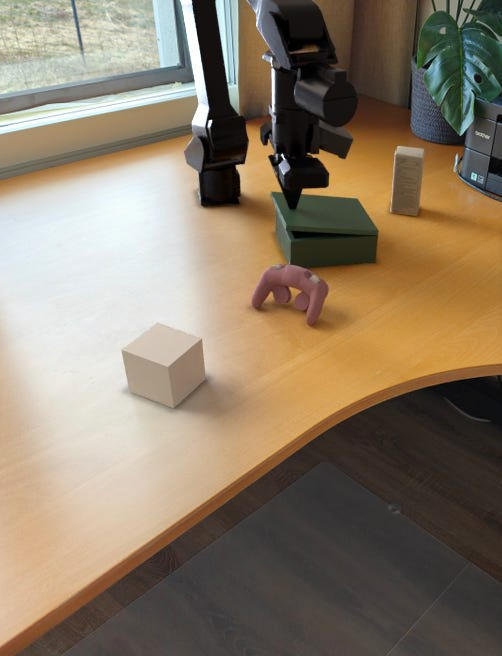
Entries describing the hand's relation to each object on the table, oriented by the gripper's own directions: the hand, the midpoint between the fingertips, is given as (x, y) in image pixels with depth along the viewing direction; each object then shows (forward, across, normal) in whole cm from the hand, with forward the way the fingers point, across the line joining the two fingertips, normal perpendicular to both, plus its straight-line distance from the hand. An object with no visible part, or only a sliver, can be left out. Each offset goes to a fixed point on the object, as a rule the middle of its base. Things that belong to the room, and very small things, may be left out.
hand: (292, 208), depth 100 cm
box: (+7, +12, -23) cm, 27 cm away
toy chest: (+7, 0, -5) cm, 9 cm away
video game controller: (+7, -16, +4) cm, 18 cm away
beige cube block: (+7, -29, +21) cm, 36 cm away
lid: (+1, 0, -5) cm, 5 cm away
